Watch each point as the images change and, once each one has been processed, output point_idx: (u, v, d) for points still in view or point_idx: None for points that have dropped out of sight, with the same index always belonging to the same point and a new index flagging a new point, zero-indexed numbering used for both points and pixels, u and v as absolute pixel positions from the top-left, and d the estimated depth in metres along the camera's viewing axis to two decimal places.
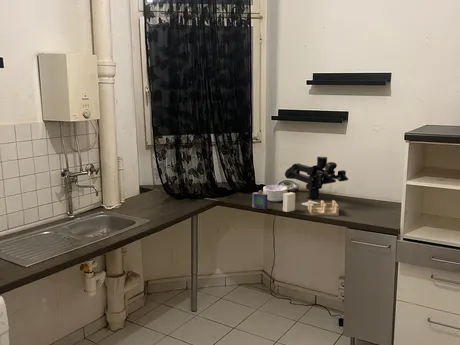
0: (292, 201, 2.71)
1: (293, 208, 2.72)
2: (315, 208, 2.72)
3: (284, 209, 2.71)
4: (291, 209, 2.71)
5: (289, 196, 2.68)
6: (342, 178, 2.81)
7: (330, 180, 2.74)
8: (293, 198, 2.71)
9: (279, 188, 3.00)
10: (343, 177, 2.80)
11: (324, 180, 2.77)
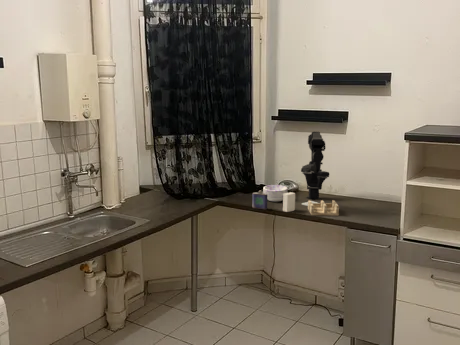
0: (292, 201, 2.71)
1: (293, 208, 2.72)
2: (315, 208, 2.72)
3: (284, 209, 2.71)
4: (291, 209, 2.71)
5: (289, 196, 2.68)
6: None
7: None
8: (293, 198, 2.71)
9: (279, 188, 3.00)
10: None
11: None
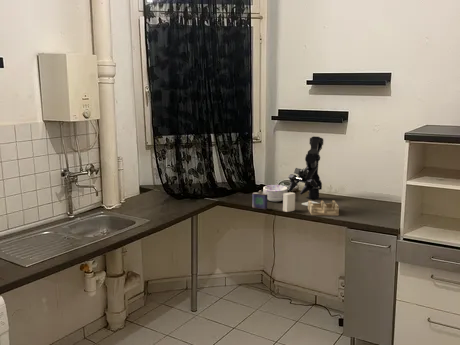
0: (292, 201, 2.71)
1: (293, 208, 2.72)
2: (315, 208, 2.72)
3: (284, 209, 2.71)
4: (291, 209, 2.71)
5: (289, 196, 2.68)
6: None
7: None
8: (293, 198, 2.71)
9: (279, 188, 3.00)
10: None
11: None
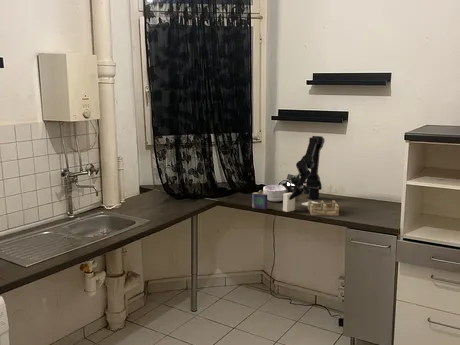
0: (292, 201, 2.71)
1: (293, 208, 2.72)
2: (315, 208, 2.72)
3: (284, 209, 2.71)
4: (291, 209, 2.71)
5: (289, 196, 2.68)
6: None
7: None
8: (293, 198, 2.71)
9: (279, 188, 3.00)
10: None
11: None
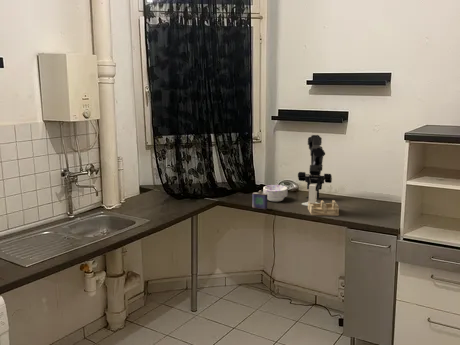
0: (316, 192, 2.67)
1: (316, 198, 2.69)
2: (315, 208, 2.72)
3: (311, 201, 2.65)
4: (315, 200, 2.68)
5: (315, 187, 2.64)
6: None
7: (308, 184, 2.68)
8: None
9: (279, 188, 3.00)
10: None
11: (306, 180, 2.70)
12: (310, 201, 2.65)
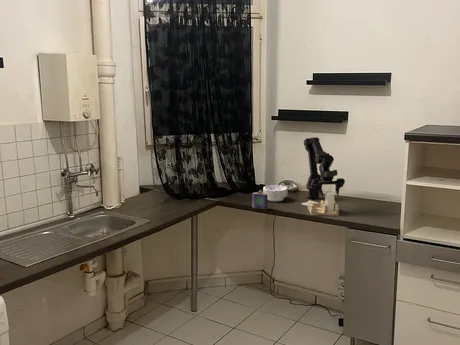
0: None
1: None
2: (315, 208, 2.72)
3: (330, 209, 2.66)
4: None
5: None
6: (336, 188, 2.70)
7: (319, 191, 2.67)
8: None
9: (279, 188, 3.00)
10: (336, 189, 2.69)
11: (315, 186, 2.69)
12: (329, 209, 2.66)
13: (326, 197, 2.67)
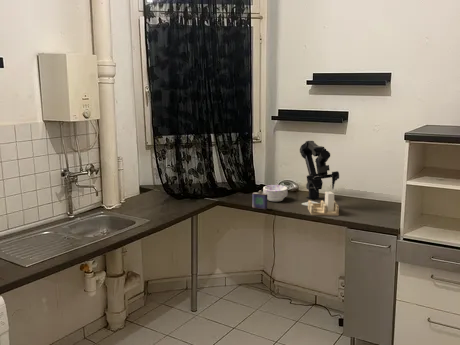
0: None
1: None
2: (315, 208, 2.72)
3: (330, 209, 2.66)
4: None
5: None
6: (332, 181, 2.78)
7: (314, 186, 2.79)
8: None
9: (279, 188, 3.00)
10: (332, 183, 2.77)
11: (310, 182, 2.81)
12: (329, 209, 2.66)
13: (326, 197, 2.67)
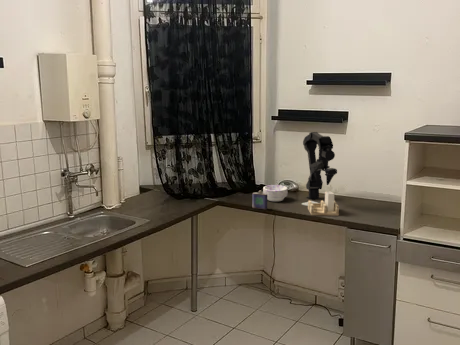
0: None
1: None
2: (315, 208, 2.72)
3: (330, 209, 2.66)
4: None
5: None
6: None
7: None
8: None
9: (279, 188, 3.00)
10: None
11: None
12: (329, 209, 2.66)
13: (326, 197, 2.67)
